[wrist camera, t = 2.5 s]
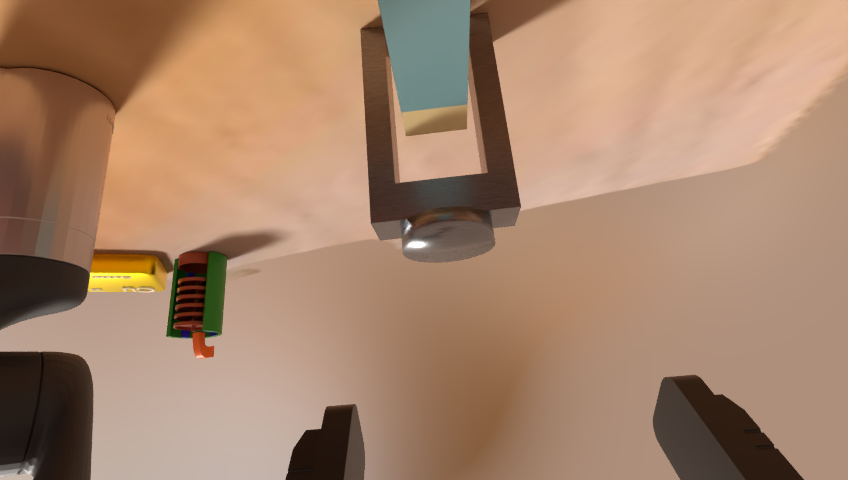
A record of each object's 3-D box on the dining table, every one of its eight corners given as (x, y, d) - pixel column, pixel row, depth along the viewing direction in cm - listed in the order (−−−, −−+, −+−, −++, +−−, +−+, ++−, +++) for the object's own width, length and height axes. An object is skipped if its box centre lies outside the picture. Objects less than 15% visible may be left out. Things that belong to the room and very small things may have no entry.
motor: (194, 247, 86) (186, 354, 80) (237, 256, 93) (232, 354, 87) (168, 259, 91) (158, 360, 85) (210, 267, 98) (203, 360, 92)
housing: (356, 15, 37) (368, 242, 31) (488, -2, 37) (528, 225, 30) (372, 72, 44) (384, 268, 37) (484, 57, 43) (516, 254, 37)
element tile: (156, 252, 88) (154, 276, 87) (168, 273, 101) (166, 293, 100) (63, 251, 83) (59, 276, 81) (89, 272, 96) (85, 294, 94)
